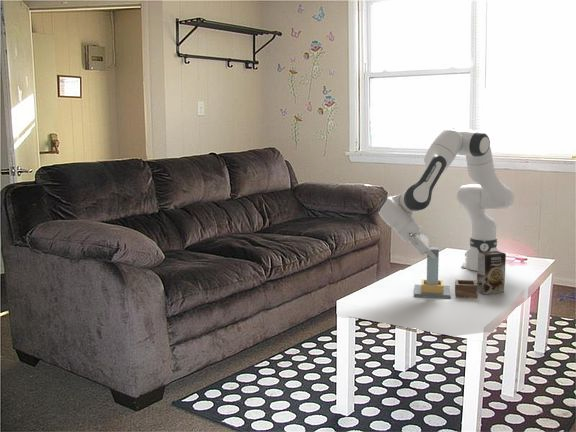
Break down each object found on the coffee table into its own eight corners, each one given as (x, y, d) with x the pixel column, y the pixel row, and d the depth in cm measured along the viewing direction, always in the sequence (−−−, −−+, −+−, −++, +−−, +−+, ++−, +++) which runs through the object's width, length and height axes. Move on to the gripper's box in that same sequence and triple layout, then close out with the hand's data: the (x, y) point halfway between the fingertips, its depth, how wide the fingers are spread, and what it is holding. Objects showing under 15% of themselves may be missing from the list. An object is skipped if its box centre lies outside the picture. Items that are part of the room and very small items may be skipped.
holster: (454, 291, 257) (455, 279, 256) (475, 292, 255) (475, 280, 255) (455, 297, 249) (456, 284, 249) (476, 298, 248) (477, 285, 247)
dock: (414, 287, 264) (415, 277, 264) (449, 288, 261) (449, 278, 261) (414, 296, 251) (414, 286, 250) (450, 298, 248) (450, 287, 247)
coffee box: (485, 294, 252) (486, 255, 249) (476, 290, 258) (477, 251, 256) (505, 292, 254) (506, 253, 252) (495, 288, 261) (497, 250, 258)
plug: (426, 283, 258) (427, 247, 256) (437, 283, 257) (438, 247, 255) (426, 285, 254) (427, 249, 252) (437, 286, 253) (438, 249, 251)
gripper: (415, 230, 243) (440, 256, 243) (416, 221, 263) (439, 245, 263) (403, 241, 245) (428, 267, 245) (405, 232, 265) (428, 255, 264)
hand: (434, 255), depth 254 cm, fingers closed on plug, 4 cm apart
